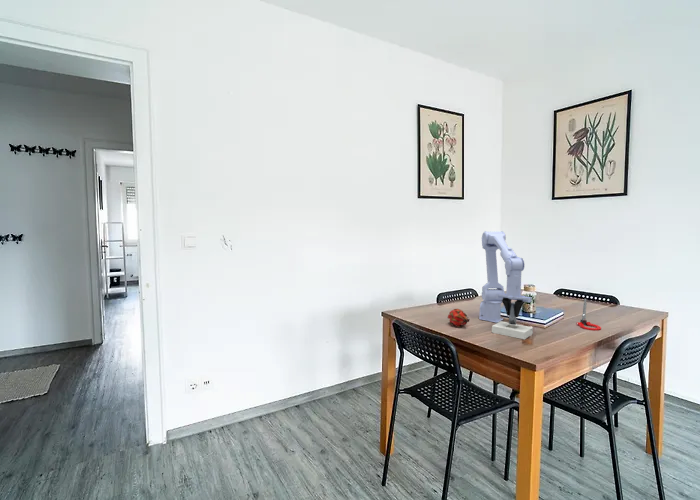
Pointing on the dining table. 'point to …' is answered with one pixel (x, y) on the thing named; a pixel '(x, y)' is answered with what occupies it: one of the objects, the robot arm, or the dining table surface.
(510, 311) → the peg
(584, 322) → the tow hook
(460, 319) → the dragon fruit
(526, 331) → the hole block
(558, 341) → the dining table surface
